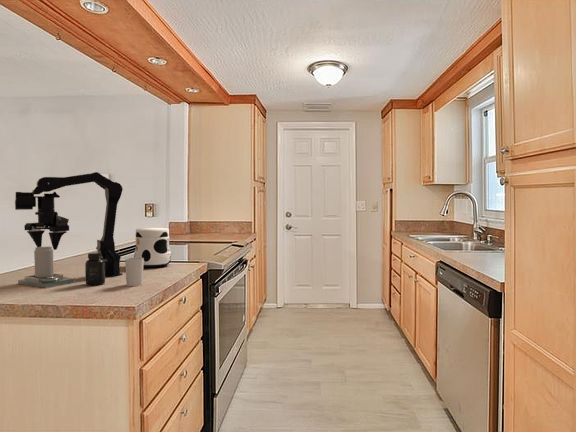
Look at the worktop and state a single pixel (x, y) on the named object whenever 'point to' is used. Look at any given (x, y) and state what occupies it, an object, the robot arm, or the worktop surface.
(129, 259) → the drinking glass
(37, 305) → the worktop surface
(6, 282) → the worktop surface
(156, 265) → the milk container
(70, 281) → the grey flat piece
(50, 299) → the worktop surface
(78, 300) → the worktop surface
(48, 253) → the beverage can
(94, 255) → the supplement bottle
